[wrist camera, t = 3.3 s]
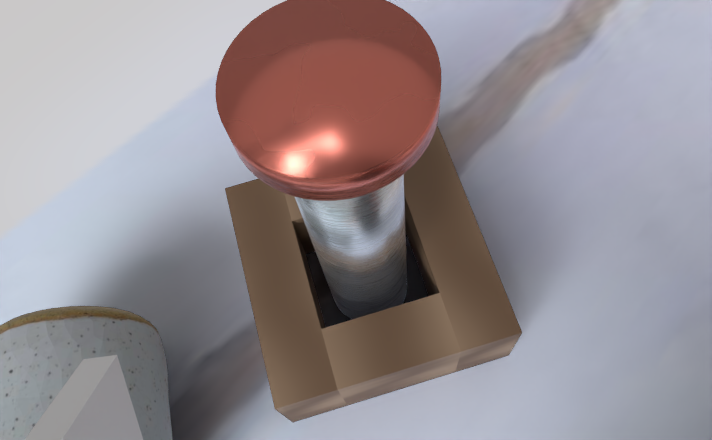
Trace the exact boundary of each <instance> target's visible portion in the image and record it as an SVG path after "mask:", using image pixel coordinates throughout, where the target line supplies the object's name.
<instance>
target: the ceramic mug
mask: <svg viewBox="0 0 712 440" xmlns="http://www.w3.org/2000/svg"><path fill="white" fill-rule="evenodd" d="M112 355H117V356H118V360H119V363H120V366H121V369H122V372H123V376H124V379H125V382H126V385H127V389H128V392H129V395H130V398H131V401H132V405H133V408H134V411H135V414H136V418H137V421H138V424H139V427H140V431H141V434H142V437H143V440H173V439H172V427H171V417H170V408H169V394H168V370H167V362H166V357H165V353H164V349H163V345H162V341H161V337H160V335H159V333H158V331H157V329H156V328H155V327H154V326H153V325H152V324H151V323H150V322H149V321H147V320H145V319H144V318H142V317H141V316H139V315H136V314H134V313H131V312H129V311H124V310H120V309H115V308H110V307H98V306H69V307H60V308H51V309H46V310H40V311H36V312H32V313H28V314H25V315H22V316H19V317H16V318H14V319H12V320H10V321H8V322H6V323H4V324H2V325H0V440H25V438H26V437H27V436H28V434H29V433H30V431H31V430H32V429H33V427H34V426H35V425H36V423H37V422H38V421H39V419H40V418H41V416H42V415H43V414H44V412H45V411H46V410H47V408H48V407H49V406H50V404H51V403H52V401H53V400H54V399H55V397H56V396H57V395H58V393H59V392H60V390H61V389H62V388H63V386H64V385H65V384H66V382H67V381H68V380H69V378H70V377H71V375H72V374H73V373H74V371H75V370H76V369H77V367H78V366H79V365H80V363H81V362H82V360H83V359H88V358H96V357H104V356H112Z"/></svg>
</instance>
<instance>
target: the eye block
mask: <svg viewBox="0 0 712 440" xmlns="http://www.w3.org/2000/svg"><path fill="white" fill-rule="evenodd" d="M225 191H226V195H227V199H228V204H229V208H230V213H231V217H232V221H233V226H234V230H235V235H236V239H237V243H238V248H239V252H240V257H241V261H242V266H243V270H244V274H245V279H246V283H247V288H248V292H249V296H250V301H251V305H252V310H253V314H254V319H255V323H256V327H257V332H258V336H259V341H260V345H261V349H262V354H263V358H264V363H265V367H266V371H267V376H268V380H269V385H270V389H271V394H272V398H273V402H274V407H275V409H276V410H277V411H278V412H280V413H281V414H282V415H284V416H285V417H286V418H288V419H289V420H291V421H292V422H295V421H299V420H302V419H305V418H308V417H311V416H315V415H318V414H321V413H324V412H328V411H331V410H334V409H337V408H340V407H344V406H347V405H350V404H353V403H357V402H360V401H363V400H366V399H369V398H373V397H376V396H379V395H382V394H386V393H389V392H392V391H395V390H398V389H402V388H405V387H408V386H411V385H415V384H418V383H421V382H424V381H427V380H431V379H434V378H437V377H440V376H444V375H447V374H450V373H453V372H456V371H460V370H463V369H466V368H469V367H473V366H476V365H479V364H482V363H485V362H489V361H492V360H495V359H498V358H502V357H505V356H508V355H509V354H510V352H511V350H512V349H513V347H514V345H515V344H516V342H517V340H518V339H519V337H520V335H521V334H522V331H521V329H520V326H519V324H518V322H517V319H516V317H515V314H514V312H513V309H512V307H511V304H510V302H509V300H508V297H507V295H506V292H505V290H504V287H503V285H502V282H501V280H500V277H499V275H498V273H497V270H496V268H495V265H494V263H493V260H492V258H491V255H490V253H489V251H488V248H487V246H486V243H485V241H484V238H483V236H482V233H481V231H480V229H479V226H478V224H477V221H476V219H475V216H474V214H473V211H472V209H471V206H470V204H469V202H468V199H467V197H466V194H465V192H464V189H463V187H462V184H461V182H460V180H459V177H458V175H457V172H456V170H455V167H454V165H453V162H452V160H451V158H450V155H449V153H448V150H447V148H446V145H445V143H444V140H443V138H442V135H441V133H440V131H439V128H438V126H436V129H435V132H434V135H433V137H432V139H431V141H430V143H429V146H428V147H427V149H426V150H425V152H424V153H423V155H422V156H421V157H420V158H419V160H418V161H417V162H416V163H415V164H414V165H413V166H412V167H411V168H410V169H409V170H408V171H407V172H406V173H404V203H405V231H406V234H407V237H408V239H409V242H410V245H411V248H412V251H413V254H414V256H415V259H416V262H417V265H418V268H419V271H420V273H421V276H422V279H423V282H424V285H425V288H426V290H427V293H428V297H424V298H421V299H418V300H415V301H411V302H408V303H405V304H401V305H398V306H395V307H392V308H388V309H385V310H382V311H378V312H375V313H372V314H369V315H365V316H362V317H359V318H356V319H352V320H349V321H346V322H342V323H339V324H336V325H333V326H329V327H326V325H325V322H324V318H323V315H322V311H321V307H320V304H319V300H318V296H317V293H316V289H315V285H314V282H313V278H312V274H311V271H310V267H309V264H308V260H307V256H306V254H309V253H312V252H315V249H314V246H313V244H312V241H311V238H310V236H309V233H308V231H307V228H306V225H305V223H304V220H303V218H302V215H301V212H300V210H299V207H298V204H297V202H296V199H295V197H294V196H291V195H288V194H286V193H283V192H280V191H278V190H276V189H274V188H272V187H271V186H269V185H267V184H265V183H264V182H263V181H261V180H260V179H256V180H252V181H249V182H245V183H242V184H239V185H235V186H232V187H228V188H225Z"/></svg>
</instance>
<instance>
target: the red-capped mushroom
mask: <svg viewBox="0 0 712 440" xmlns="http://www.w3.org/2000/svg"><path fill="white" fill-rule="evenodd" d="M440 92H441V67H440V62H439V57H438V54H437V51H436V48H435V46H434V44H433V42H432V40H431V38H430V36H429V35H428V34H427V32H426V31H425V29H424V28H423V27H422V26H421V25H420V24H419V23H418V22H417V21H416V20H415V19H414V18H413V17H412V16H411V15H410V14H408V13H407V12H406V11H404V10H403V9H401V8H400V7H398V6H396V5H394V4H393V3H390V2H388V1H386V0H287V1H285V2H282V3H280V4H278V5H276V6H274V7H272V8H270V9H269V10H267V11H265V12H263V13H262V14H261V15H259V16H258V17H257V18H255V19H254V20H252V21H251V22H250V23H249V24H248V25H247V26H246V27H245V28H244V29H243V30H242V31H241V32H240V33H239V34H238V36H237V37H236V38H235V39H234V40H233V42H232V44H231V45H230V46H229V48H228V50H227V51H226V54H225V55H224V58H223V60H222V62H221V65H220V68H219V71H218V75H217V81H216V102H217V109H218V112H219V115H220V118H221V121H222V123H223V125H224V127H225V129H226V131H227V133H228V135H229V137H230V139H231V141H232V143H233V145H234V147H235V149H236V151H237V153H238V155H239V157H240V159H241V160H242V161H243V163H244V164H245V165H246V167H247V168H248V169H249V170H250V171H251V172H252V173H253V174H254V175H255V176H256V177H257V178H259V179H260V180H261V181H263V182H264V183H265V184H267V185H269V186H271V187H272V188H274V189H276V190H278V191H280V192H283V193H286V194H288V195H291V196H294V197H295V199H296V202H297V204H298V207H299V210H300V212H301V215H302V218H303V220H304V223H305V225H306V228H307V231H308V233H309V236H310V238H311V241H312V244H313V246H314V249H315V251H316V254H317V257H318V259H319V262H320V264H321V267H322V270H323V272H324V275H325V278H326V280H327V283H328V285H329V288H330V291H331V293H332V296H333V298H334V301H335V303H336V305H337V307H338V308H339V309H340V310H341V312H342V313H343V314H345V315H346V316H347V317H349V318H351V319H356V318H359V317H362V316H365V315H369V314H372V313H375V312H378V311H382V310H385V309H388V308H392V307H395V306H398V305H401V304H403V302H404V300H405V297H406V294H407V261H406V232H405V203H404V173H406V172H407V171H408V170H409V169H410V168H411V167H412V166H413V165H414V164H415V163H416V162H417V161H418V160H419V158H420V157H421V156H422V155H423V153H424V152H425V150H426V149H427V147H428V146H429V143H430V141H431V139H432V137H433V135H434V132H435V129H436V126H437V123H438V116H439V109H440Z"/></svg>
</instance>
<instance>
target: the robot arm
mask: <svg viewBox="0 0 712 440" xmlns="http://www.w3.org/2000/svg"><path fill="white" fill-rule="evenodd" d="M25 440H143V437H142V434H141V431H140V427H139V424H138V421H137V418H136V414H135V411H134V408H133V405H132V401H131V398H130V395H129V392H128V389H127V385H126V382H125V379H124V376H123V372H122V369H121V366H120V363H119V360H118V356H117V355H112V356H104V357H96V358H88V359H83V360H82V362H81V363H80V365H79V366H78V367H77V369H76V370H75V371H74V373H73V374H72V375H71V377H70V378H69V380H68V381H67V382H66V384H65V385H64V386H63V388H62V389H61V390H60V392H59V393H58V395H57V396H56V397H55V399H54V400H53V401H52V403H51V404H50V406H49V407H48V408H47V410H46V411H45V412H44V414H43V415H42V416H41V418H40V419H39V421H38V422H37V423H36V425H35V426H34V427H33V429H32V430H31V431H30V433H29V434H28V436H27V437H26V438H25Z"/></svg>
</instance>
